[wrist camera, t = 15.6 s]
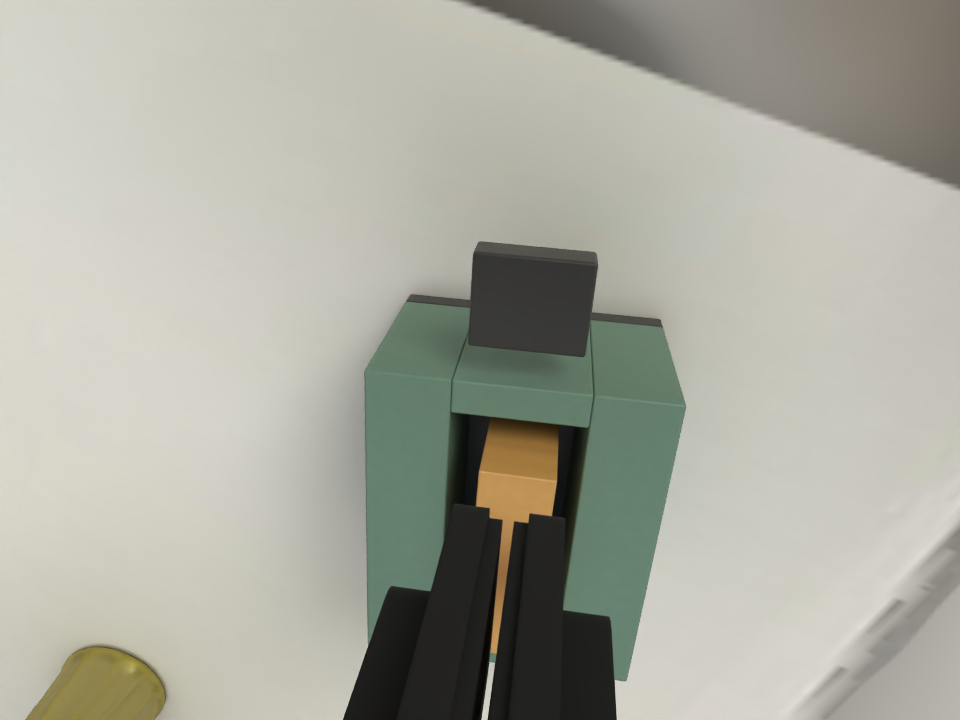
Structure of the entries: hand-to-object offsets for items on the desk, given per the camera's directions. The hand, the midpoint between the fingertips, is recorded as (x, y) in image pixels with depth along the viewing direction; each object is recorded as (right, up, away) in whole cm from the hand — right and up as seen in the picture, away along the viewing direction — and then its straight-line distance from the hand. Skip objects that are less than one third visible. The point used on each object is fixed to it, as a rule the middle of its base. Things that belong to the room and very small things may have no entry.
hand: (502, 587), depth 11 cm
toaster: (+1, 0, +20) cm, 20 cm away
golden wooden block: (+1, 0, +19) cm, 19 cm away
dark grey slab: (+1, +6, +11) cm, 12 cm away
